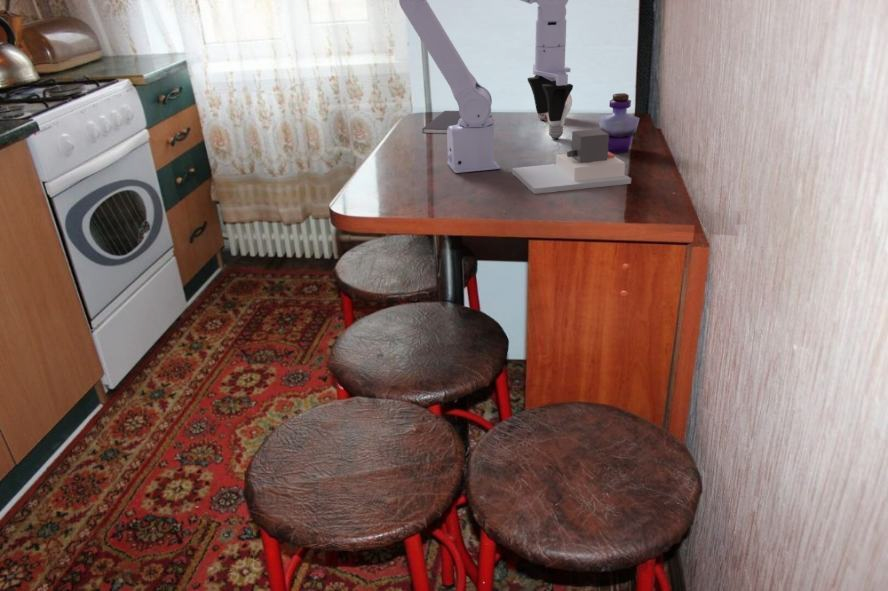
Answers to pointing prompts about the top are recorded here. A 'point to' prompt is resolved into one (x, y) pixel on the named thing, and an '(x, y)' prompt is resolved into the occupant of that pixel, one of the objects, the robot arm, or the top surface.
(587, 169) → the socket plate
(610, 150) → the potion bottle
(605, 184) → the socket mat
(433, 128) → the notebook
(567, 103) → the light bulb
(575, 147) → the plug
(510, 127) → the top surface
